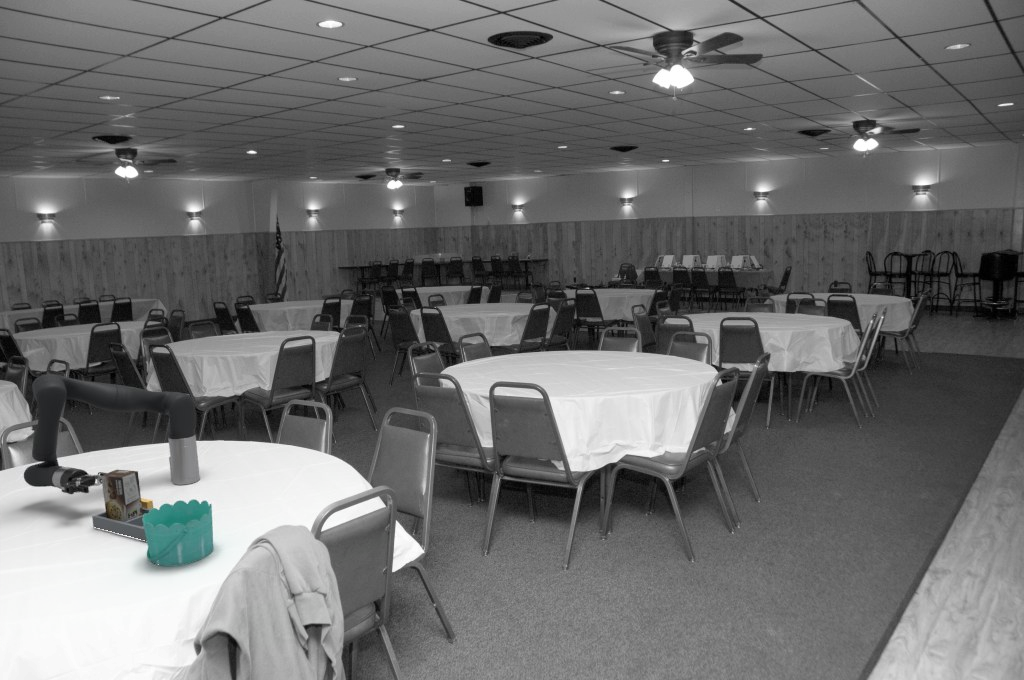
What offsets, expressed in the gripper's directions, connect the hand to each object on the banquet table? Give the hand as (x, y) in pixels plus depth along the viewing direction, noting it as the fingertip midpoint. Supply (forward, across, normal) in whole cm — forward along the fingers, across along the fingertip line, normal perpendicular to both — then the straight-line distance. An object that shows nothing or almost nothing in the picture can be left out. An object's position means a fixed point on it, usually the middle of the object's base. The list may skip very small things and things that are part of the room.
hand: (100, 485), depth 251 cm
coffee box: (+11, 0, +11) cm, 15 cm away
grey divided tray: (+18, +1, +11) cm, 22 cm away
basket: (+47, -7, +12) cm, 49 cm away
